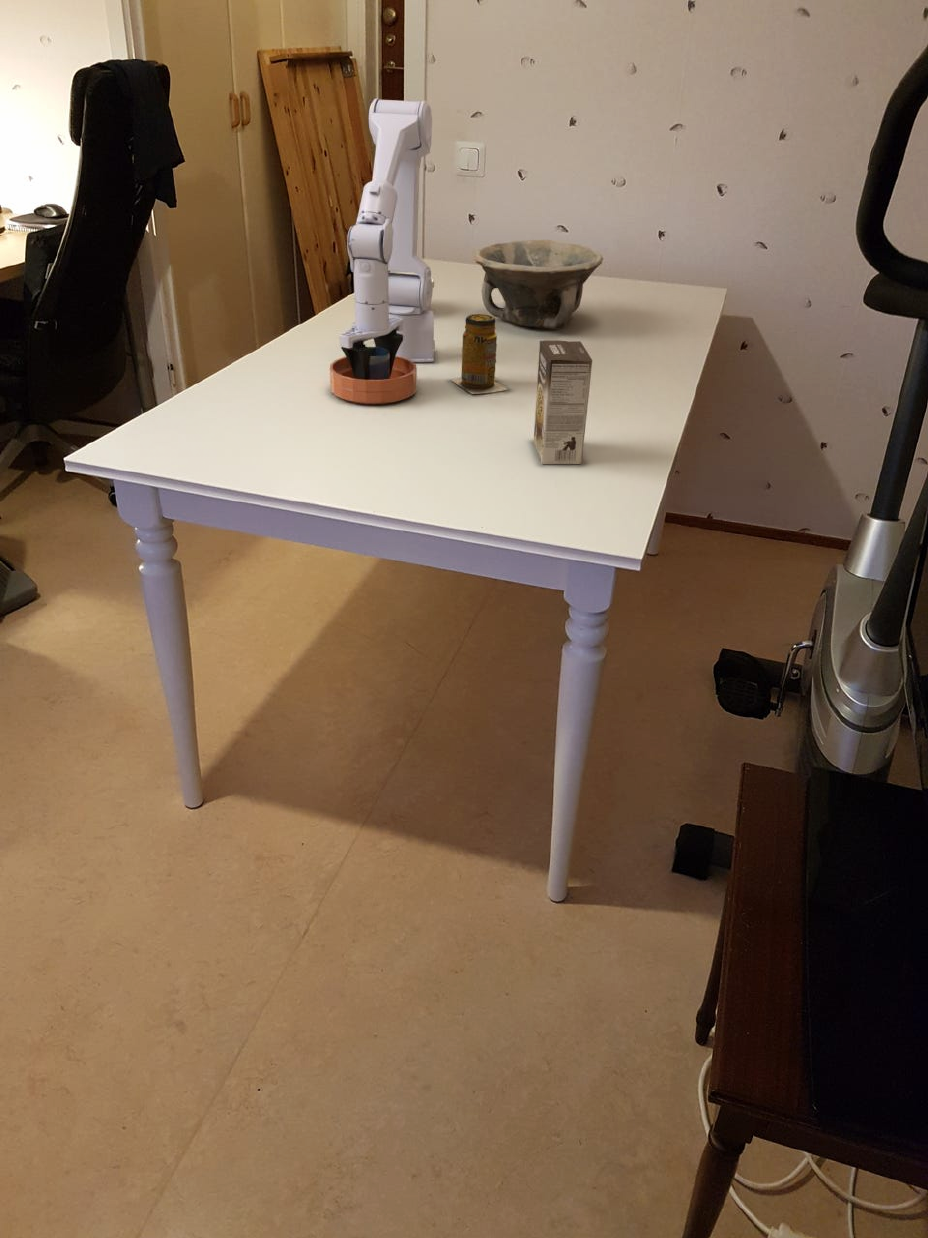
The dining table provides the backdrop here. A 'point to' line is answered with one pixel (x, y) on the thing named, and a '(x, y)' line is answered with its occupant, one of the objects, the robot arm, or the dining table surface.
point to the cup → (379, 364)
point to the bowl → (536, 280)
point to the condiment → (479, 355)
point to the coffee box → (561, 401)
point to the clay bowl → (374, 383)
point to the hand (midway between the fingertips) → (373, 379)
